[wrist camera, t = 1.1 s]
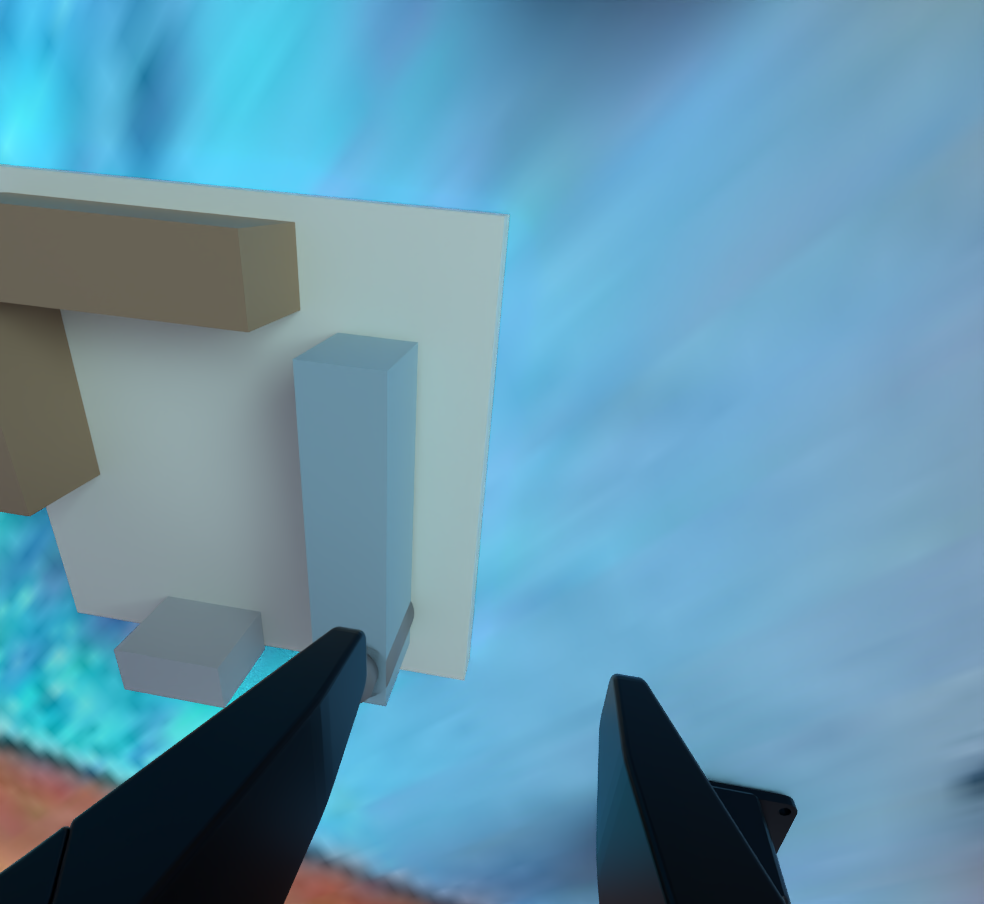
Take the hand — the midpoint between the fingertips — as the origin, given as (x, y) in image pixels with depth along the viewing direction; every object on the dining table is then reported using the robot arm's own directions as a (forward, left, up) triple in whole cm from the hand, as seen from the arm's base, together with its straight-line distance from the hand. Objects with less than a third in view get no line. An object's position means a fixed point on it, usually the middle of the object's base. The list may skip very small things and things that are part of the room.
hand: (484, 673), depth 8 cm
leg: (-5, +5, -11) cm, 13 cm away
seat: (-3, +10, -12) cm, 16 cm away
